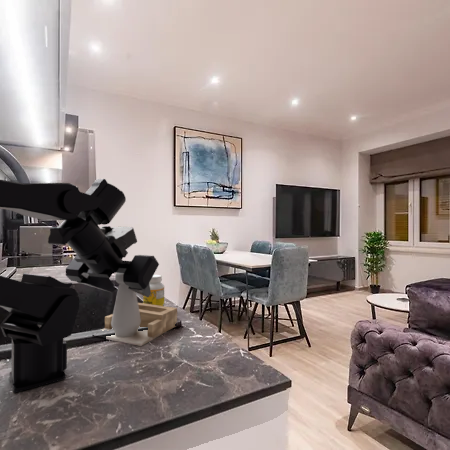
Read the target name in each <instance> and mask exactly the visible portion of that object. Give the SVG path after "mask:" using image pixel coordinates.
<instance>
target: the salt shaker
mask: <svg viewBox="0 0 450 450" xmlns="http://www.w3.org/2000/svg"><path fill="white" fill-rule="evenodd" d="M123 274H124V273H115V278H114V279H115V282H116V283H117V284H118V288H117V291H116V292H117V293H116V297H115V302H114V307H113V311H112V314H113V316H112V321H111V326H112V328H113V330H114V332H115V335H116V336H118V337H123V338H124V337H130V336H133V335H135V334H136V333H137V331H138V328H139V326H140V324H141V317H140V312H139V306H138V303H139V301H138V296H137V292H134V291H132V290H130V289H128V287H129V286H127V285H126V284H125V283H124V282H123Z"/></svg>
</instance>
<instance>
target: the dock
mask: <svg viewBox="0 0 450 450" xmlns="http://www.w3.org/2000/svg"><path fill="white" fill-rule="evenodd" d="M138 306H139V312H140V317H141V324H140V327H148V330H143V331H137V333H136V334H135V335H133V336H130V337H124V338H123V337H118V336H116V335H111V336H106V340H108V341H109V340H110V341H114V342H119V343H125V344H129V345H132V346H133V345H134V346H139V347H143V346H144V345H146V344H147V343H149V342H151V341H153V340H155V339H156V338H158V337H161V336H162V335H163V334H164V333H166V332H168V331H170V330H172V329H173V328H176V326H175V324H176V322H177V323H178V307H171V306H166V305H164V306H158V305H151V304H144V303H143V302H138ZM112 316H113V313H111V314H108V315H106V316H104V328H102V329H101V330H102V331H104V330H106V329H107V331H109V330H111V329H112V326H111V321H112Z"/></svg>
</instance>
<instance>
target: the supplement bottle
mask: <svg viewBox="0 0 450 450" xmlns="http://www.w3.org/2000/svg"><path fill="white" fill-rule="evenodd" d="M162 277H163V276H162V275H160V274H154V275H153V277H152V279H151V280H150V282H149V284H150V291H151V294H150V296H149V297H145V296H143V295H142V303H144V304H151V305H158V306H165V285H164V283H163V282H162V280H163V278H162Z"/></svg>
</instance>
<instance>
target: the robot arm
mask: <svg viewBox="0 0 450 450" xmlns="http://www.w3.org/2000/svg"><path fill="white" fill-rule="evenodd" d="M125 202H127V201H126V196H125V193H124V192H123V191H122V190H121V189H119V188H118V187H117V186H115V185H114V184H111V183H108V181H107V179H106V178H96V179H95V180H94V181H93V182H92V184H91V186H90V187H89V188H88V189H87V190H86V192H81V191H80V190H79V187H78V186H77V185H76V184H73V183H71V182H42V183H41V182H37V183H33V182H31V183H29V182H28V183H26V182H24V183H23V182H17V181H12V180H5V179H0V209H1V210H8V211H11V212H15V213H17V214H19V215H21V216H25V217H29V218H33V219H36V220H42V221H62V222H61V223H60V224H58V225H57V227H55V226H54V227H50V228H49V235H48V238H47V239H48V240H47V243H48V244H49V245H55V246H57V245H58V246H66V245H67V246H68V247H70V249H72V251H74V253H75V254H76V255H75V256H74V257H73V259H72V260H71V261H70V263H69V264H68V265H67V267H66V268H65V276H66V278H67V279H68V280H70V281H71V282H65V281H61V280H58V279H57V278H55V277H52V276H50V275H42V274H34V273H23V274H22V277H21V281H19V280H18V279H17V280H16V279H14V278H13V279H12V278H8V277H6V276H3V275H0V308H2V309H3V310H6V311H8V312H9V313H8V315H7V316H6V317H5V318H4V319H3V321H1V323H0V330H1V332H2V335H3V337H6V338H11V371H10V372H9V379H10V384H11V389H12V392H13V393H18V392H22V391H26V390H30V389H33V388H37V387H41V386H44V385H47V384H48V385H49V384H51V383H55V382H56V383H57V382H58V381H59V382H60V381H62V380H65V379H66V378H67V377H66V376H67V375H66V372H65V371H66V370H67V368H68V343H67V342H66V340H65V338H68V337H69V338H70V336H72V333H73V330H74V326H75V323H76V319H77V316H78V313H79V310H80V297H79V291H77V290H76V289H75V288H73V287H72V286H73V283H72V282H77V284H80V285H81V284H82V285H85V286H89V287H92V288H96V289H98V290H101V291H104V292H109V293H111V294H112V293H113V294H114V293H115V292H116V287H115V285H114V284H113V281H112V280H111V279H110V278H111V277H112V275H113V274H116V273H124V274H123V282H124V283H125V284H126V285H127V286H129V287H128V289H130V290H132V291H134V292H136V294H139V295H141V296H142V297H143V296H145V297H149V296H150V294H151V291H150V284H149V282H150V280H151V279H152V277H153V275H155V273H156V271H157V269H158V267H159V265H160V263H159V262H158V260H157V258H156V257H155V256H154V255H147V254H137V255H133V258H132V260H123V258H126V256H127V255H128V253H129V252H128V251H127V250H128V249H129V248H131V246H133V245H134V244H136V243H137V242H138V240H137V239H138V238H137V235H136V233H135V229H134V227H133V226H118V227H117V226H116V227H115V226H114V227H111V226H110V225H109V224H110V223H111V222H112V220H113V219H114V218H115V217H116V215H117V214H118V212H119V211H120V210H121V209H122V207H123V206H124V205H125ZM100 225H102V226H101V227H100ZM38 323H40V324H38ZM41 323H42V324H41Z"/></svg>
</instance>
